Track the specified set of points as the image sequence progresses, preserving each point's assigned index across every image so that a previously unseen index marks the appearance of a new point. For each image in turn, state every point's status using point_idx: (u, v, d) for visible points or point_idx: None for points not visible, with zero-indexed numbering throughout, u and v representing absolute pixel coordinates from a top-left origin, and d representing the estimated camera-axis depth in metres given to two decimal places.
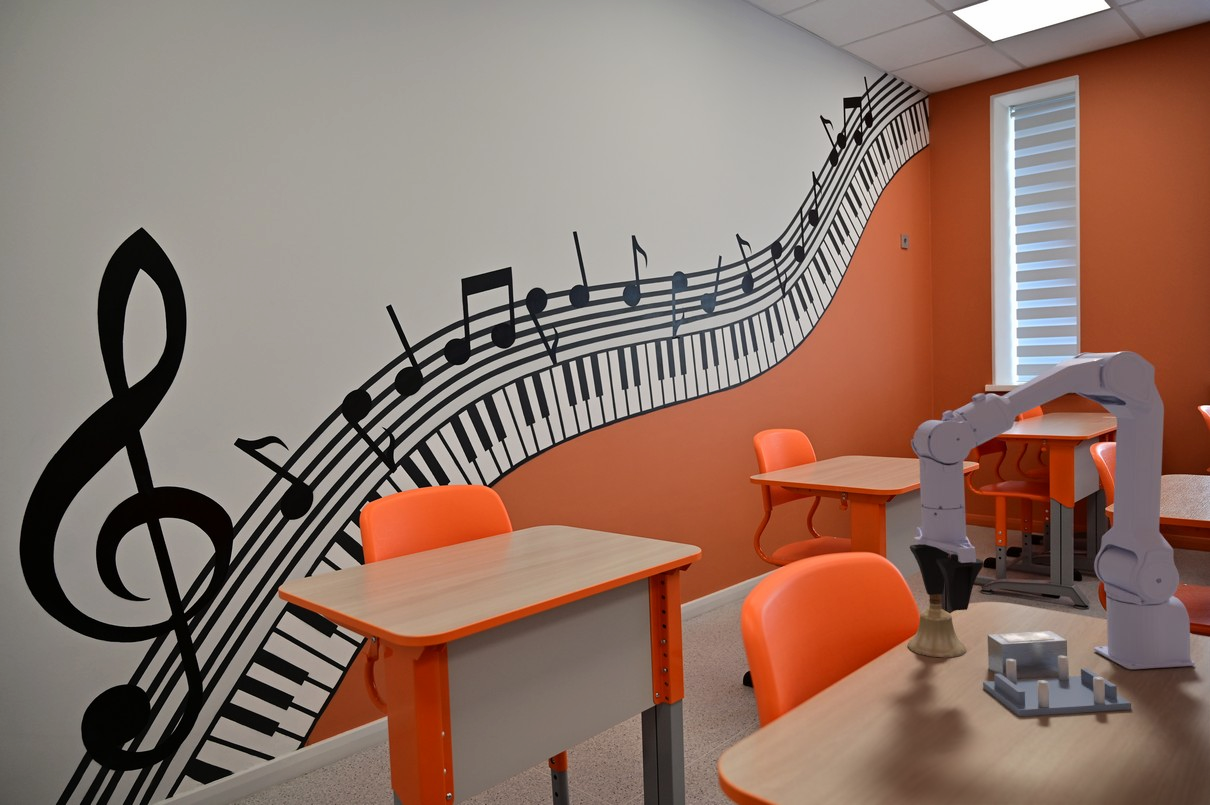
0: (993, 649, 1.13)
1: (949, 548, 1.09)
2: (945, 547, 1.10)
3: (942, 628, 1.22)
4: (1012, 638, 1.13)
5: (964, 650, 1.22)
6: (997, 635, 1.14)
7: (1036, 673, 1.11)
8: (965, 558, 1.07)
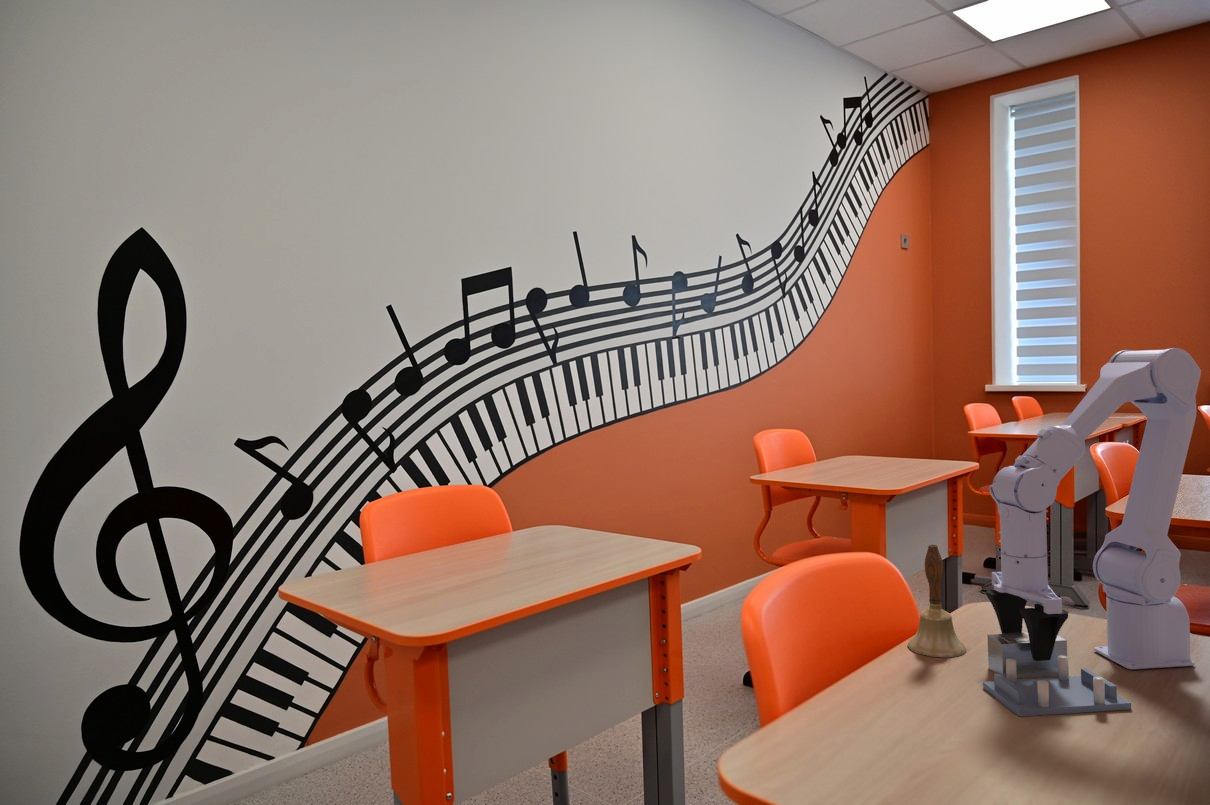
0: (993, 649, 1.14)
1: (1033, 598, 1.08)
2: (1029, 597, 1.09)
3: (942, 628, 1.22)
4: (1012, 638, 1.13)
5: (964, 650, 1.22)
6: (997, 635, 1.14)
7: (1036, 673, 1.11)
8: (1051, 609, 1.06)
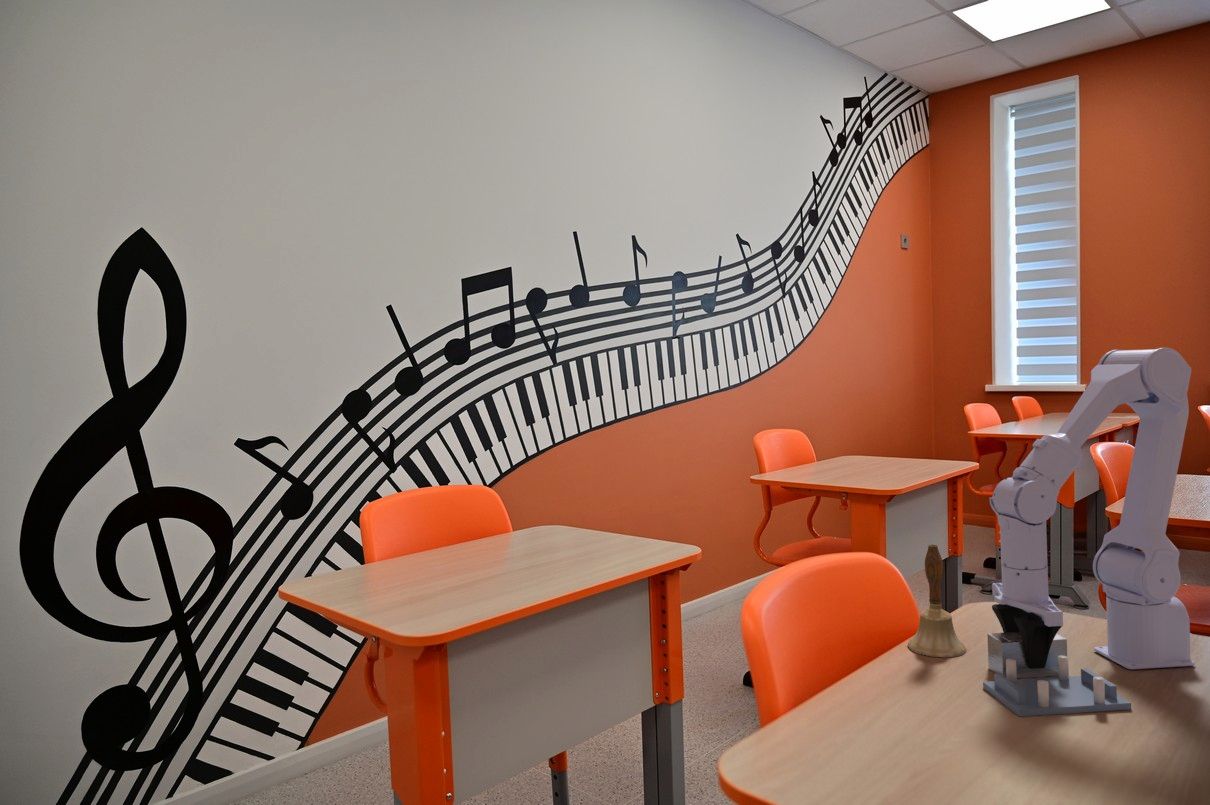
0: (993, 648, 1.13)
1: (1034, 610, 1.08)
2: (1029, 609, 1.09)
3: (942, 628, 1.22)
4: (1012, 637, 1.13)
5: (964, 650, 1.22)
6: (997, 634, 1.14)
7: (1036, 672, 1.11)
8: (1052, 622, 1.06)
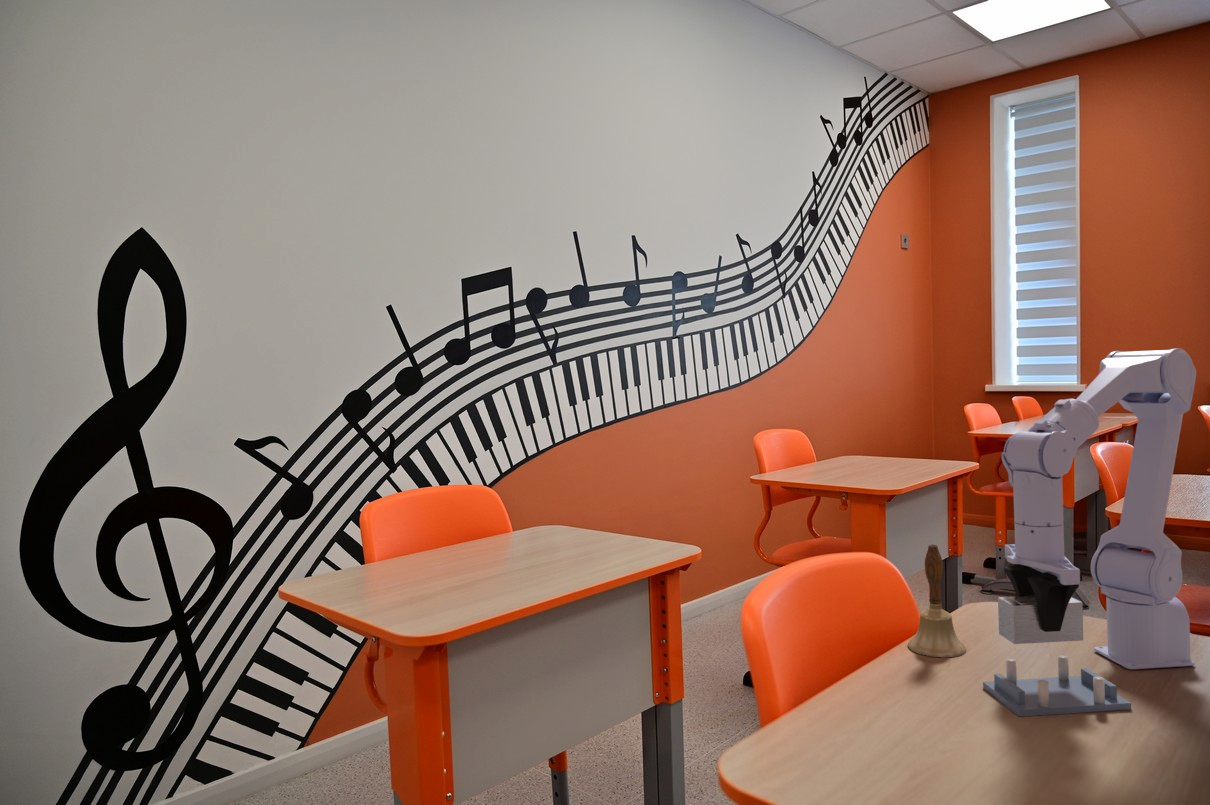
0: (1004, 612, 1.07)
1: (1049, 569, 1.02)
2: (1044, 568, 1.02)
3: (942, 628, 1.22)
4: (1024, 600, 1.07)
5: (964, 650, 1.22)
6: (1008, 598, 1.08)
7: (1050, 637, 1.05)
8: (1068, 580, 0.99)
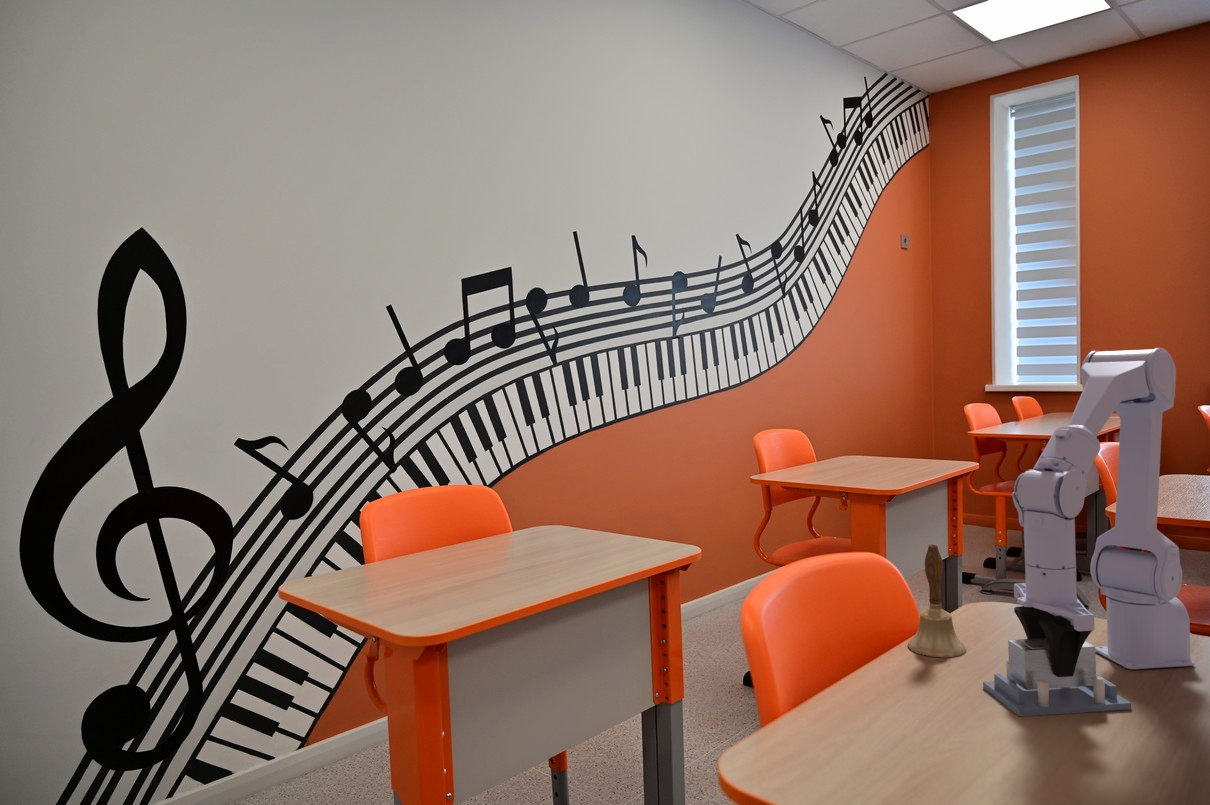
0: (1014, 656, 1.04)
1: (1062, 613, 0.99)
2: (1057, 612, 0.99)
3: (942, 628, 1.22)
4: (1035, 644, 1.04)
5: (964, 650, 1.22)
6: (1018, 641, 1.05)
7: (1062, 682, 1.02)
8: (1083, 626, 0.96)
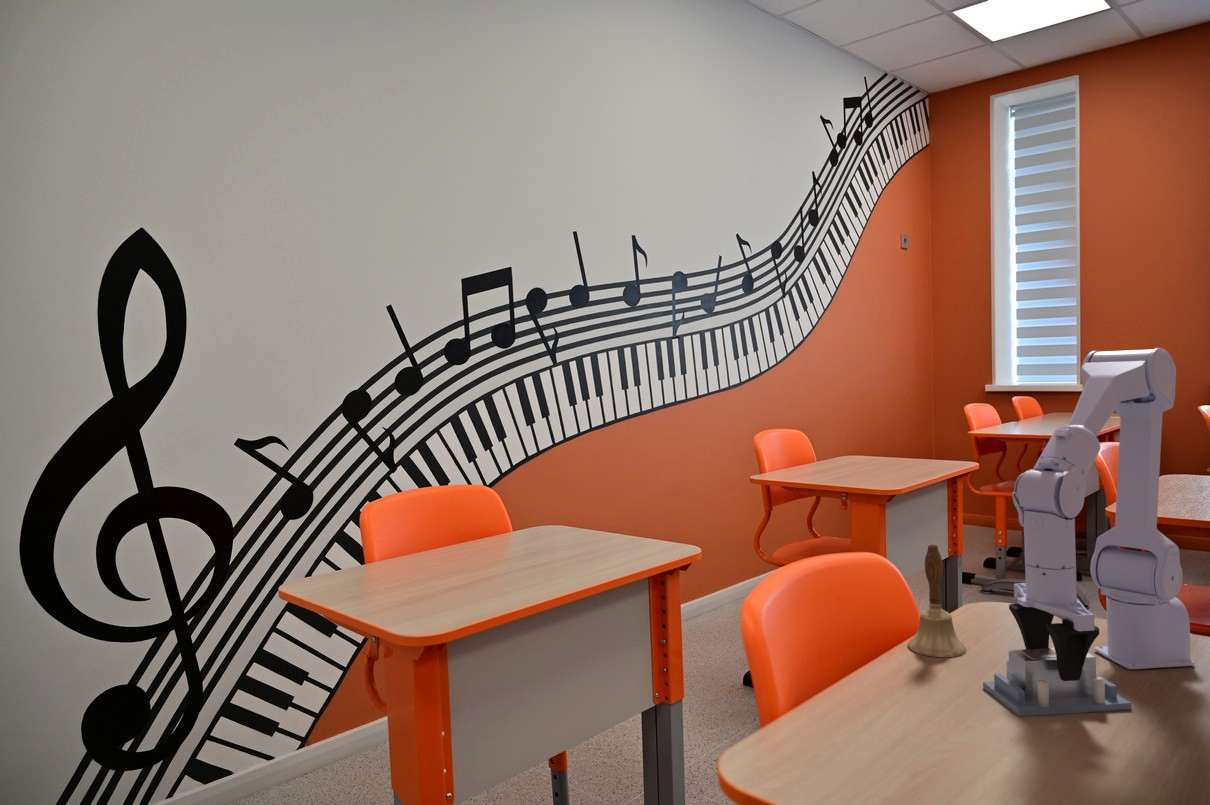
0: (1015, 666, 1.04)
1: (1062, 613, 0.99)
2: (1057, 612, 0.99)
3: (942, 628, 1.22)
4: (1036, 654, 1.04)
5: (964, 650, 1.22)
6: (1019, 651, 1.05)
7: (1063, 692, 1.02)
8: (1083, 626, 0.96)
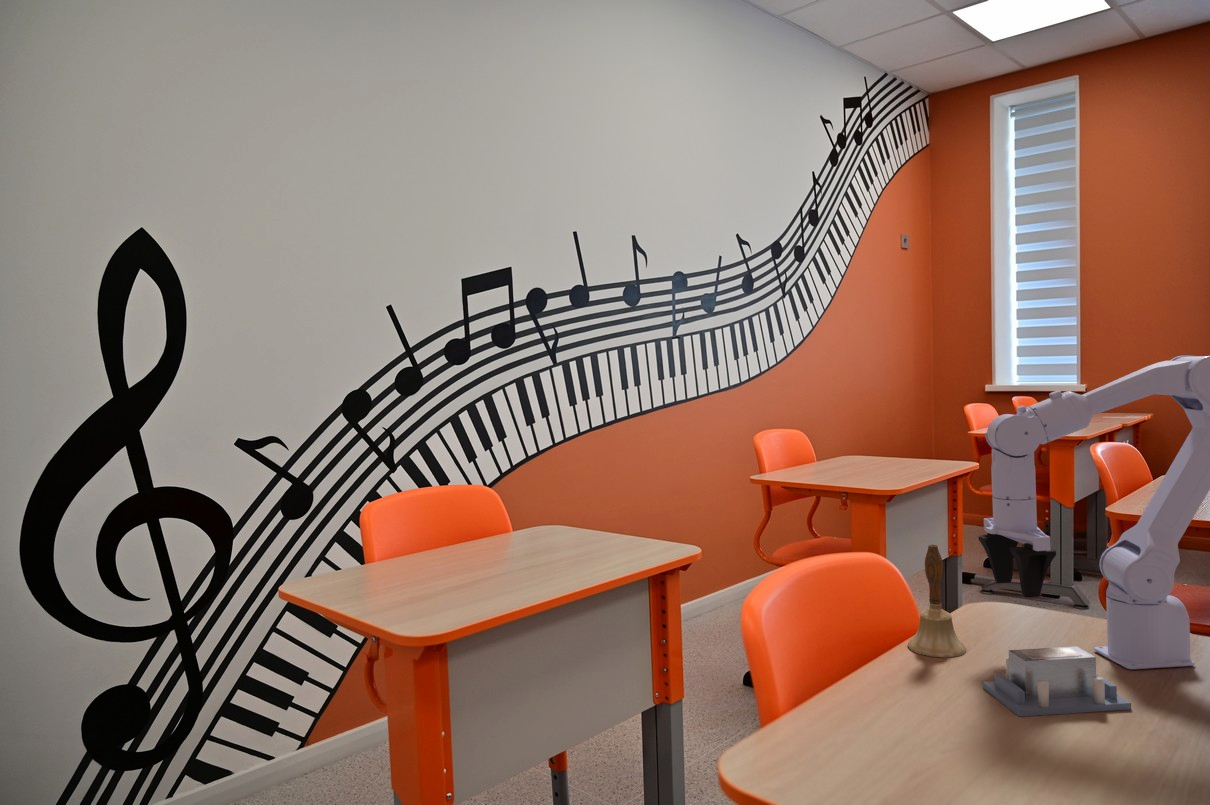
0: (1015, 666, 1.04)
1: (1023, 537, 1.13)
2: (1019, 536, 1.14)
3: (942, 628, 1.22)
4: (1036, 654, 1.04)
5: (964, 650, 1.22)
6: (1019, 651, 1.05)
7: (1063, 692, 1.02)
8: (1040, 547, 1.11)
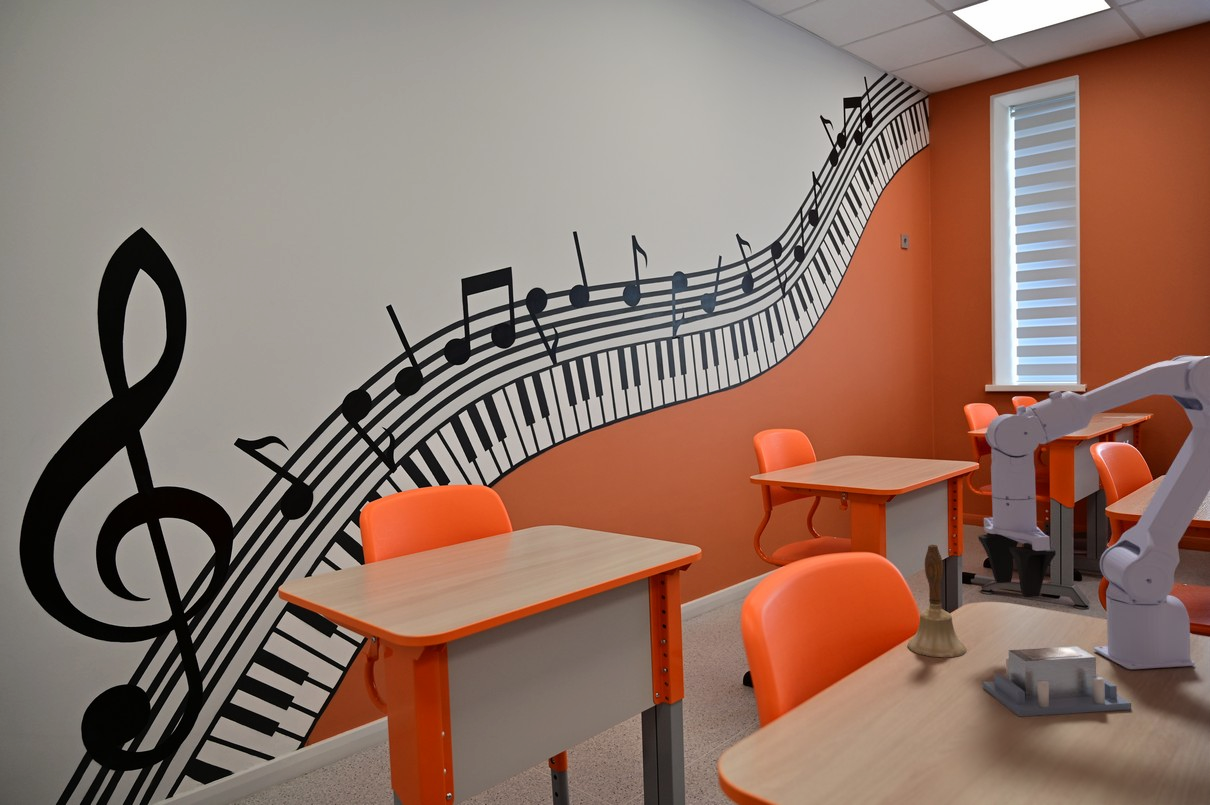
0: (1015, 666, 1.04)
1: (1022, 537, 1.14)
2: (1018, 536, 1.14)
3: (942, 628, 1.22)
4: (1036, 654, 1.04)
5: (964, 650, 1.22)
6: (1019, 651, 1.05)
7: (1063, 692, 1.02)
8: (1039, 546, 1.11)
